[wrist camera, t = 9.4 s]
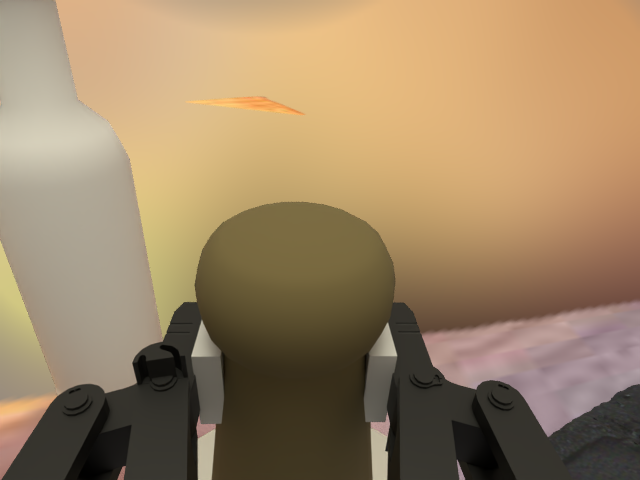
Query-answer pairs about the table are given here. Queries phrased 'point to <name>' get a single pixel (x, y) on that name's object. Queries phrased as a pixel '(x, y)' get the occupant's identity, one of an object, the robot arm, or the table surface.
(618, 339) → the table surface
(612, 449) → the dark grey folded cloth
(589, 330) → the table surface
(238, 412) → the cork
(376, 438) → the turntable
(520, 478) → the robot arm
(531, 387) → the table surface
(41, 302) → the bottle
